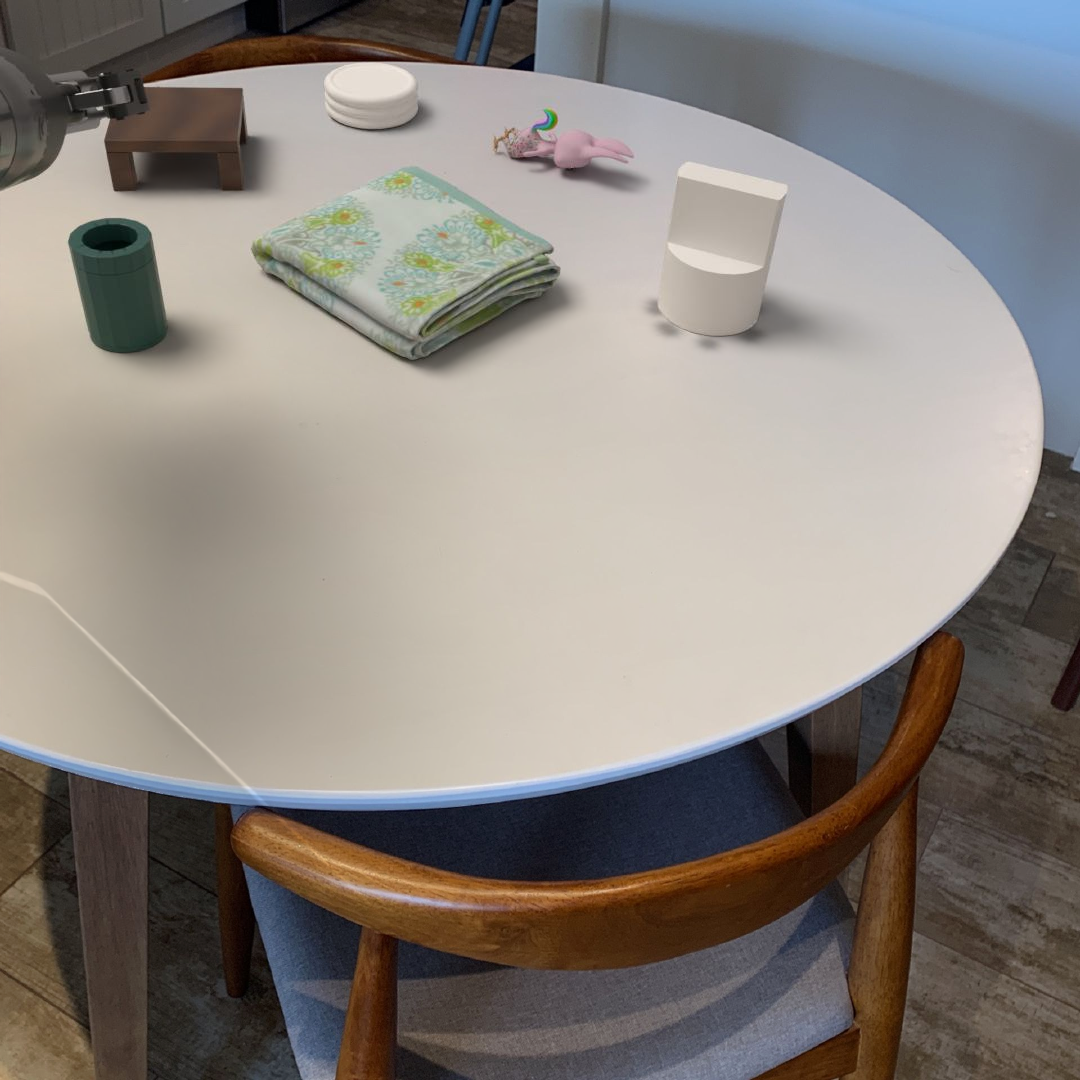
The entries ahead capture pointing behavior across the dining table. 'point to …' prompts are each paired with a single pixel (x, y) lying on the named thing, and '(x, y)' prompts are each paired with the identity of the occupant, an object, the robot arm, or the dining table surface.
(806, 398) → the dining table surface
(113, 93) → the robot arm
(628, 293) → the dining table surface
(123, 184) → the stand
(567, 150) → the rabbit figure
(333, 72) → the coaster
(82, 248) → the jar
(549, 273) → the towel
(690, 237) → the base with upright slab
